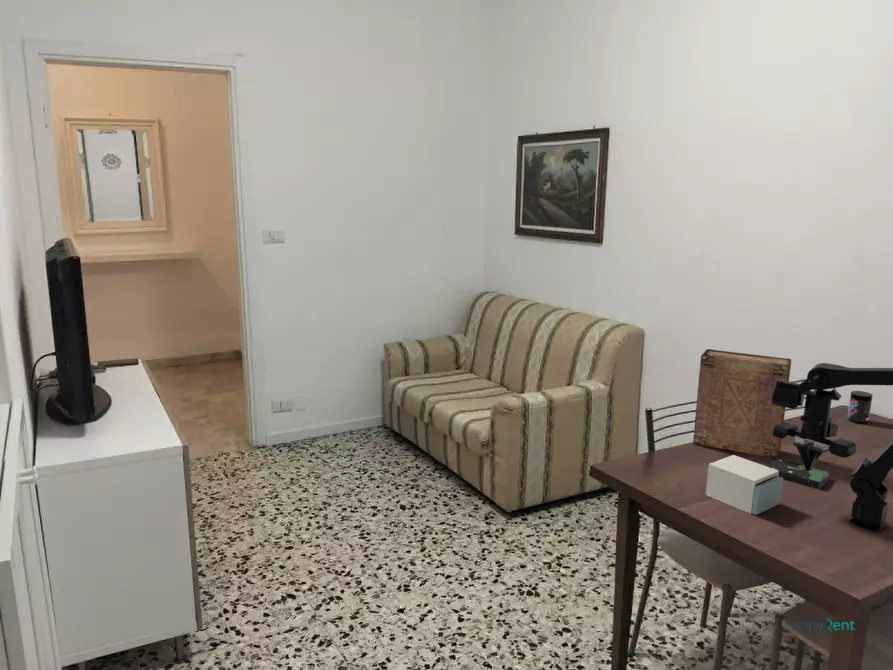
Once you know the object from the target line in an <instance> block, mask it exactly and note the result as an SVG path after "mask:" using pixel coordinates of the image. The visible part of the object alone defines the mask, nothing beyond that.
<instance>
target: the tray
mask: <svg viewBox="0 0 893 670" xmlns="http://www.w3.org/2000/svg"><path fill="white" fill-rule="evenodd" d="M783 484H784V479H783V478H782V477H776V478H774V479H772V480H769V481H767V482H765V483H763V484H760V485H758V486H756V487H755V490H754V498H753V507H752V514H753V515H754V516H757V515H760V514H761V513H764V512H766V511H768V510H770V509H772V508H773V507H776V506H778V505H781V499H782V491H783Z"/></svg>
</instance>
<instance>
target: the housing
mask: <svg viewBox="0 0 893 670" xmlns="http://www.w3.org/2000/svg"><path fill="white" fill-rule="evenodd" d="M766 466H767V465H763V464H761V463H758V462H754V461H752V460H750V459H749V460H748V459H746V458H744V457H740V456H737V455H734V454H732V455H730V456H727V457H724V458H721V459H719V460H716V461H714V462H711V463H708V470H707V477H706V479H707V481H706V489H705V496H706V495H707V496H706V497H709V496H710V498H711V497H712V499H714V500H717V501H718V500H719V501H718V502H721V503H724V504H726V505H729V506H730V507H732V508H733V507H734V508H735V509H738V510H740V511H743V512H745V513H748V514H750V515H752V514H753V513H752V507H753V498H754V490H755V487H756V484H757V483H760V482H762V484H763V483H765V482H767V481H769V480H772V479H774V478H776V477H778V474H779V471H778V470H775V469H772V468H769V467H766Z"/></svg>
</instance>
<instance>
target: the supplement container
mask: <svg viewBox="0 0 893 670" xmlns="http://www.w3.org/2000/svg"><path fill="white" fill-rule="evenodd" d="M872 401H873V394H872V393H870V392H868V391H862V390H852V391H851V392H850V396H849V405H848V412H847V417H846V418H847V420H848V421H849V422H851V423H853V422H854V424H858V423H866V424H868V423H869V421H870V416H871V415H870V414H871V409H872Z"/></svg>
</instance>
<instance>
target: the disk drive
mask: <svg viewBox="0 0 893 670" xmlns="http://www.w3.org/2000/svg"><path fill="white" fill-rule="evenodd" d="M765 466H766V467H769V468H772V469H775V470H778V471H779V474H778V477H782V478H783V481H786V482H787V481H788V482H791V483H794V484H795V483H796V484H798V485H803V486H806V487H808V488H809V487H810V488H812V487H813V488H812V489H816V490H820V489H822V487H823V486H824V485H825V484H826V483H827V482H829V480H830V479H831V473H830V471H826V470H823V469H821V468H816V467H815V466H814V467H813V468H812V470H811V471H807V470H806V468H805V466H804V464H803V463H797V462H795V461H790V460H787V459H783V458H780V457H779V458H776V459H773V461H771V462H770V463H769V464H768V465H765Z"/></svg>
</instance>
